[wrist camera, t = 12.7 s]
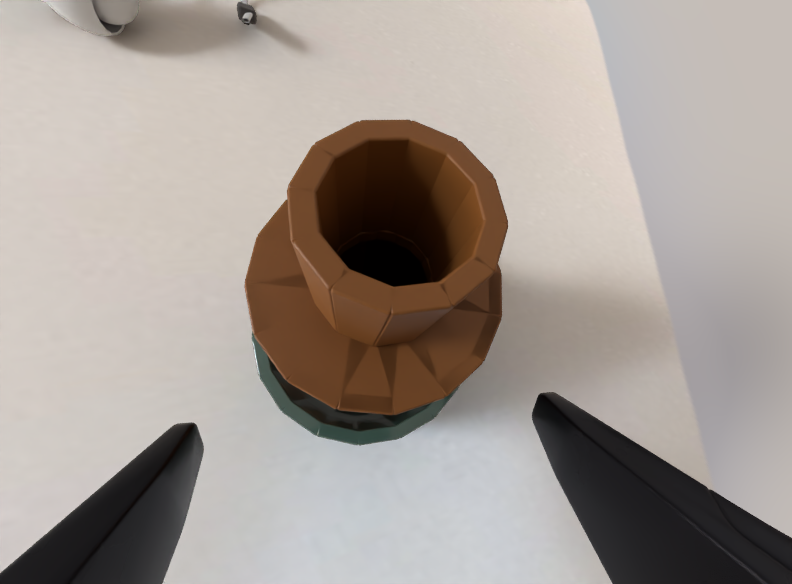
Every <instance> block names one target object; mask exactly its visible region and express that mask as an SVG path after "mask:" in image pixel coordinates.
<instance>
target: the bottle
mask: <svg viewBox="0 0 792 584" xmlns="http://www.w3.org/2000/svg"><path fill="white" fill-rule="evenodd" d="M287 199H288V200H286V201H285V202H284V203H283V204H282V205H281V207H280V208H279V209H278V210H277V212H276V213H275V214H274V215H273V217H272V218H271V219H270V220H269V222H268V223H267V224H266V225H265V227H264V228H263V229H262V230H261V231H260V233H259V234H258V237H257V238H256V242H255V245H254V249H253V253H252V257H251V260H250V264H249V268H248V272H247V275H246V279H245V292H246V297H247V303H248V308H249V314H250V319H251V325H252V330H253V334H254V335H255V339H256V340H257V341H258V343H259V344H260V346H261V347H262V348H263V350H264V351H265V353H266V354H267V355H268V357H269V358H270V360H271V361H272V362H273V364H274V365H275V366H276V368H277V369H278V371H279V372H280V373H281V375H282V376H283V378H284V379H285V380H287V382H288V383H290V384H292V385H293V386H295V387H297V388H299V389H300V390H302V391H304V392H306V393H307V394H309V395H311V396H313V397H314V398H316V399H318V400H320V401H322V402H323V403H325V404H327V405H329V406H330V407H332V408H334V409H338V410H341V411H352V412H362V413H373V414H383V415H397V414H400V413H403V412H406V411H409V410H412V409H415V408H418V407H420V406H423V405H426V404H429V403H432V402H435V401H438V400H441V399H444V398H445V397H447V396H449V395H450V394H451V393H452V392H453V391H454V390H455V389H456V388H457V387H458V386H459V385H460V384H461V383H462V382H463V381H464V380H466V379H467V378H468V377H469V376H470V375H471V374H472V373H473V372H474V371H475V370H476V369H477V368H478V367H479V366H480V365H482V363H483V361H484V360H485V358H486V355H487V353H488V351H489V348H490V346H491V343H492V341H493V339H494V336H495V334H496V331H497V329H498V327H499V324H500V322H501V317H502V279H501V273H500V272H501V270H500V268H499V265H498V261H499V258H500V254H501V250H502V247H503V243H504V240H505V236H506V233H507V229H508V225H507V224H508V220H507V216H506V213H505V210H504V206H503V203H502V200H501V196H500V193H499V190H498V186H497V183H496V180H495V178H493V174H492V173H491V172H490V171H489V170H488V169H487V168H486V167H485V166H484V165H483V164H482V163H481V162H480V161H479V160H478V159H477V158H476V157H475V156H474V155H473V153H472V152H471V151H470V150H469V149H468V148H467V147H466V146H465V145H464V144H463V143H462V142H461V141H458V139H456V138H454V137H451V136H449V135H447V134H444V133H442V132H439V131H437V130H435V129H432V128H430V127H427V126H425V125H423V124H420V123H418V122H415V121H410V120H362V121H360V122H359V121H358V122H355V123H353V124H351V125H349V126H347V127H345V128H343V129H341V130H339V131H337V132H335V133H333V134H331V135H329V136H327V137H325V138H323V139H322V140H320V141H318V142H316V143H315V145H313V146H312V147H311V149H310V150H309V152H308V154H307V155H306V157H305V159H304V160H303V162H302V164H301V165H300V167H299V169H298V170H297V172H296V173H295V175H294V177H293V178H292V180H291V182H290V183H289V185H288V190H287Z"/></svg>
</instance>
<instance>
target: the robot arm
mask: <svg viewBox="0 0 792 584" xmlns="http://www.w3.org/2000/svg"><path fill="white" fill-rule="evenodd" d="M532 420H533V423H534V425H535V428H536V430H537V433H538V435H539V437H540V440H541V442H542V445H543V447H544V449H545V452H546V454H547V457H548V459H549V461H550V464H551V466H552V468H553V471H554V473H555V475H556V477H557V479H558V481H559V483H560V485H561V487H562V489H563V491H564V493H565V495H566V496H567V498H568V500H569V502H570V504H571V506H572V508H573V510H574V512H575V513H576V515H577V517H578V519H579V521H580V523H581V525H582V527H583V529H584V530H585V532H586V534H587V536H588V538H589V540H590V542H591V544H592V546H593V547H594V549H595V551H596V553H597V555H598V557H599V559H600V561H601V563H602V565H603V566H604V568H605V570H606V572H607V574H608V576H609V578H610V580H611V582H612V583H613V584H792V538H791V537H789V536H787V535H785V534H784V533H782V532H780V531H778V530H777V529H775V528H773V527H772V526H770V525H768V524H766V523H765V522H763V521H761V520H760V519H758V518H756V517H755V516H753V515H751V514H750V513H748V512H747V511H745V510H743V509H741V508H740V507H738V506H737V505H735V504H733V503H731V502H730V501H728V500H727V499H725V498H724V497H722V496H721V495H719V494H717V493H716V492H714V491H712V490H708V488H707V487H706V486H704V485H703V484H701V483H700V482H698V481H696V480H695V479H693V478H691V477H690V476H688V475H687V474H685V473H683V472H682V471H680V470H679V469H677V468H675V467H674V466H672V465H671V464H669V463H667V462H666V461H664V460H663V459H661V458H659V457H658V456H656V455H655V454H653V453H651V452H650V451H648V450H647V449H645V448H643V447H642V446H640V445H639V444H637V443H635V442H634V441H632V440H630V439H629V438H627V437H626V436H624V435H622V434H621V433H619V432H618V431H616V430H614V429H613V428H611V427H610V426H608V425H606V424H605V423H603V422H602V421H600V420H598V419H597V418H595V417H594V416H592V415H590V414H589V413H587V412H586V411H584V410H582V409H581V408H579V407H578V406H576V405H574V404H573V403H571V402H569V401H568V400H566V399H565V398H563V397H561V396H560V395H558V394H556V393H554V392H547V393H540V394H539V395H538V397H537V400H536V403H535V406H534V409H533V412H532ZM203 451H204V446H203V442H202V439H201V436H200V433H199V430H198V427H197V425H196V424H195V423H180V424H176V425H174V426H172V427H171V428H170V429H169V430H167V431H166V432H165V433H164V434H163V435H162V436H160V437H159V438H158V439H157V440H156V441H154V442H153V443H152V444H151V445H150V446H149V447H147V448H146V449H145V450H144V451H143V452H142V453H140V454H139V455H138V456H137V457H136V458H135V459H133V460H132V461H131V462H130V463H129V464H128V465H126V466H125V467H124V468H123V469H122V470H121V471H119V472H118V473H117V474H116V475H115V476H114V477H112V478H111V479H110V480H109V481H108V482H106V483H105V484H104V485H103V486H102V487H101V488H99V489H98V490H97V491H96V492H95V493H94V494H92V495H91V496H90V497H89V498H88V499H87V500H85V501H84V502H83V503H82V504H81V505H80V506H78V507H77V508H76V509H75V510H74V511H73V512H71V513H70V514H69V515H68V516H67V517H66V518H64V519H63V520H62V521H61V522H60V523H58V524H57V525H56V526H55V527H54V528H53V529H51V530H50V531H49V532H48V533H47V534H46V535H44V536H43V537H42V538H41V539H40V540H39V541H37V542H36V543H35V544H34V545H33V546H32V547H30V548H29V549H28V550H27V551H26V552H25V553H23V554H22V555H21V556H20V557H19V558H18V559H16V560H15V561H14V562H13V563H12V564H10V565H9V566H8V567H7V568H6V569H5V570H3V571H2V572H1V573H0V584H162V583H163V580H164V578H165V575H166V572H167V570H168V567H169V564H170V562H171V559H172V556H173V554H174V551H175V548H176V546H177V543H178V540H179V538H180V535H181V532H182V529H183V526H184V523H185V520H186V516H187V513H188V509H189V505H190V502H191V498H192V494H193V490H194V487H195V483H196V479H197V475H198V472H199V468H200V464H201V461H202V457H203Z"/></svg>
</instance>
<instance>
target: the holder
mask: <svg viewBox="0 0 792 584" xmlns="http://www.w3.org/2000/svg"><path fill="white" fill-rule="evenodd" d="M252 336H253V337H252V342H253V348H254V353H255V358H256V364H257V369H258V375H259V376H260V379H261V381H262V382H263V384H264V385H265V387H266V388H267V390H268V392H269V393H270V395H271V396H272V398H273V399H274V401H275V403H276V404H277V406H278V407H279V409H280V410H281V411H282V412H283V413H284V414H285V415H287V416H288V417H290V418H291V419H292V420H294V421H295V422H297V423H298V424H300V425H301V426H302V427H304V428H305V429H307V430H308V431H310V432H311V433H312V434H314V435H317V436H318V437H322V438H327V439H331V440H335V441H340V442H344V443H349V444H353V445H365V444H371V443H378V442H384V441H390V440H396V439H399V438H402V437H404V436H405V435H407V434H409V433H410V432H412V431H414V430H416V429H417V428H419V427H421V426H422V425H424V424H426V423H427V422H429V421H431V420H432V419H434V417H436V416H437V415H438V413H439V412H440V411H441V410H442V408H443V407H444V406H445V405H446V403H447V402H448V401H449V400H450V398H451V397H452V396H453V395H454V393H455V392H456V391H457V389H458V388H459V386H460V385H459V386H458V387H457V388H456V389H455V390H454V391H453V392H452V393H451V394H450V395H449V396H447V397H445V398H444V399H441V400H438V401H435V402H432V403H429V404H426V405H423V406H420V407H418V408H415V409H412V410H409V411H406V412H403V413H400V414H397V415H383V414H373V413H362V412H352V411H341V410H338V409H334V408H332V407H330V406H329V405H327V404H325V403H323V402H322V401H320V400H318V399H316V398H314V397H313V396H311V395H309V394H307V393H306V392H304V391H302V390H300V389H299V388H297V387H295V386H293V385H292V384H290V383H288V382H287V380H285V379H284V378H283V376H282V375H281V373H280V372H279V371H278V369H277V368H276V366H275V365H274V364H273V362H272V361H271V360H270V358H269V357H268V355H267V354H266V353H265V351H264V350H263V348H262V347H261V346H260V344H259V343H258V341H257V340H256V339H255V335H254V334H253V331H252Z"/></svg>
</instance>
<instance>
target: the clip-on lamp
mask: <svg viewBox="0 0 792 584" xmlns="http://www.w3.org/2000/svg"><path fill="white" fill-rule="evenodd" d="M40 1H43V2H46V3H47V4H48V5H49V6H50V7H51V8H52V9H53V10H54V11H55V12H56V13H57V14H59V15H60V16H61V17H63V18H64V19H65V20H67V21H68V22H70V23H72V24H74V25H76V26H77V27H79V28H81V29H83V30H85V31H88V32H90V33H93V34H97V35H103V36H112V35H119V34H120V33H121V32H122V31H123V29H124V26H125V24H128V23H130V22H132V21H133V20H134V18H135V17H136V16H137V14H138V11H139V0H40ZM240 1H241V2H238V4H237V11H238V17H239V19H240V20H242V22H244V24H247V25H249V23H251V24H256V12H255V10H254V8H253V7H252V6H250V5H248V1H247V0H240Z"/></svg>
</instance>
